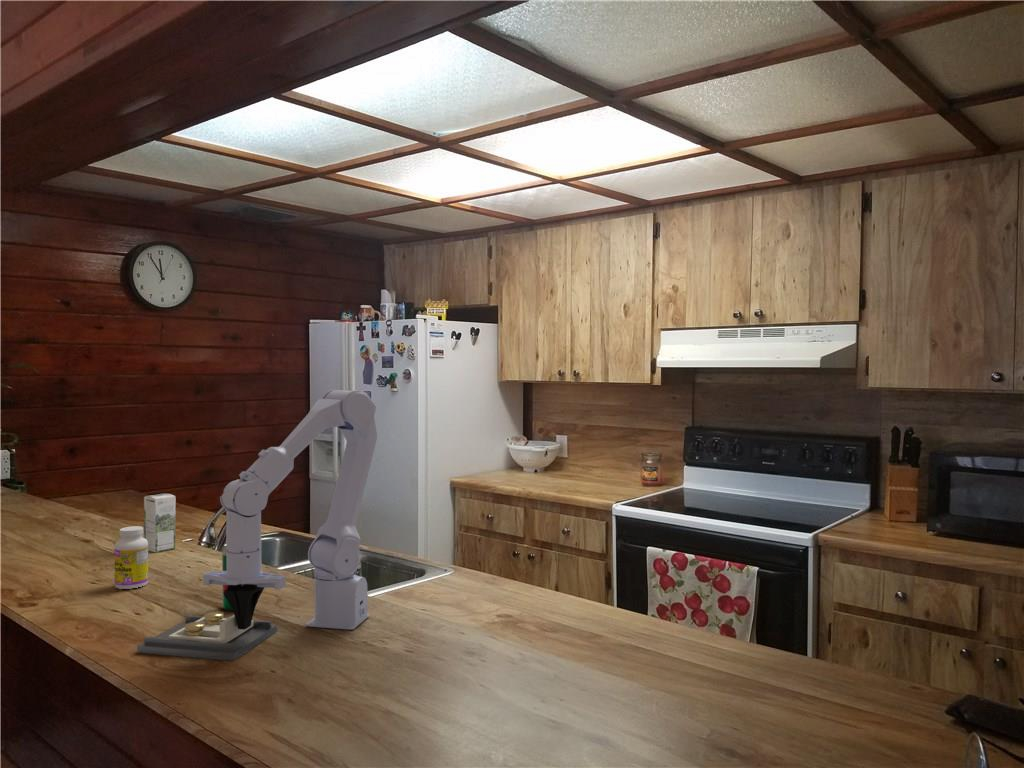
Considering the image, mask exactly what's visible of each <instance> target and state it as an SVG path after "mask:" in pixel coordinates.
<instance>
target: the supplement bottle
mask: <svg viewBox="0 0 1024 768" xmlns="http://www.w3.org/2000/svg"><path fill="white" fill-rule="evenodd" d="M143 535H144V527H143V526H140V525H138V526H137V525H136V526H127V527H122V528H120V529H119V536H120V539H119V540H117V541H116V542H115V544H114V587H115V589H117V588H118V589H117V590H122V589H130V590H132V589H131V588H137V589H139V588H138V587H141V588H142V586H143V587H145V586H147V585H148V583H149V551H148V541H147V540H146V539H145V538H144V537H143Z"/></svg>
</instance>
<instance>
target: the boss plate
mask: <svg viewBox="0 0 1024 768" xmlns="http://www.w3.org/2000/svg"><path fill="white" fill-rule="evenodd" d="M203 617H204V620H206V621H208V624H207V625H220V619H222V618H224V611H219V610H218V611H217V610H216V611H210V612H207V613H205V614H204V615H203V616H202V615H200V616H199V615H190V614H189V615H185V620H183V621H182V622H179V623H178V624H176V625H174V626H172V627H170V628H168V629H166V630H164V631H163V632H161V633H159V634H157V635H155V636H145V637H144V638H143V642H142V643H139V644H138V645H137V646H136V652H137V654H145V655H157V656H158V655H159V656H167V657H168V656H170V657H180V658H181V657H183V658H193V659H194V658H195V659H207V660H216V661H217V660H218V661H227V660H229V661H230V662H235V661H236V660H238V659H239V658H241V657H242V656H244V655H245V654H246V653H248V652H249V651H251V650H252V649H255V647H257V646H258V645H260V644H261V643H262V642H265V640H267V639H268V638H270V637H272V636H273V635H274V634H276V633H277V632H278V625H277V624H272V621H271V620H257V619H253V620H254V626H253V627H251V628H249V629H248V630H246V631H245V632H243V633H242V634H240V635H238V636H237V637H235V638H234V639H232V640H230V641H229V642H227V643H220V642H208V641H195V640H183V639H170V638H169V635H171V634H173V633H175V632H177V631H179V630H180V629H182V628H184V627H185V631H186V632H188V633H189V635H187V636H200V637H209V636H201V630H203V629H204V628H205V623H204V622H195V621H197V620H199V619H201V618H203ZM213 638H217V637H213ZM240 656H241V657H240ZM237 658H238V659H237ZM234 660H235V661H234Z"/></svg>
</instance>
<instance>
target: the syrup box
mask: <svg viewBox="0 0 1024 768" xmlns="http://www.w3.org/2000/svg"><path fill="white" fill-rule="evenodd" d="M176 498H177V497H176V495H174V494H171V493H160V494H154V495H153V494H152V495H145V496H143V511H144V512H143V522H144V523H143V526H144V527H143V538H145V539H146V540H147V541H148V552H151V553H152V552H153V553H159V552H165V551H170V550H175V549H176V504H177V503H176V502H177V501H176Z"/></svg>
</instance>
